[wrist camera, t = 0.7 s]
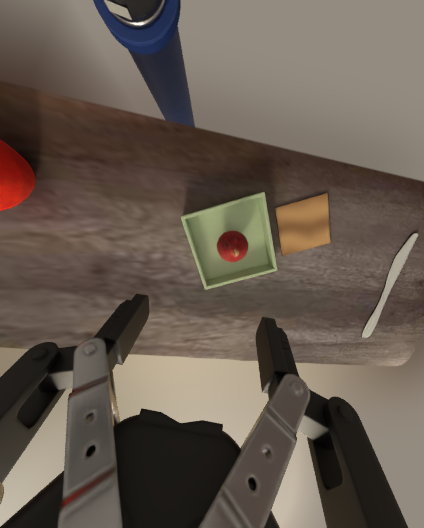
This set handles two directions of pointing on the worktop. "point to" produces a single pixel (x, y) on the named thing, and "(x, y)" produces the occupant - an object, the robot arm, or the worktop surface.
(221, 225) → the tray
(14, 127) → the worktop surface
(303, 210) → the cork mat
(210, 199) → the worktop surface
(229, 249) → the red rounded piece
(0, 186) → the apple
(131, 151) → the worktop surface
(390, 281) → the butter knife
